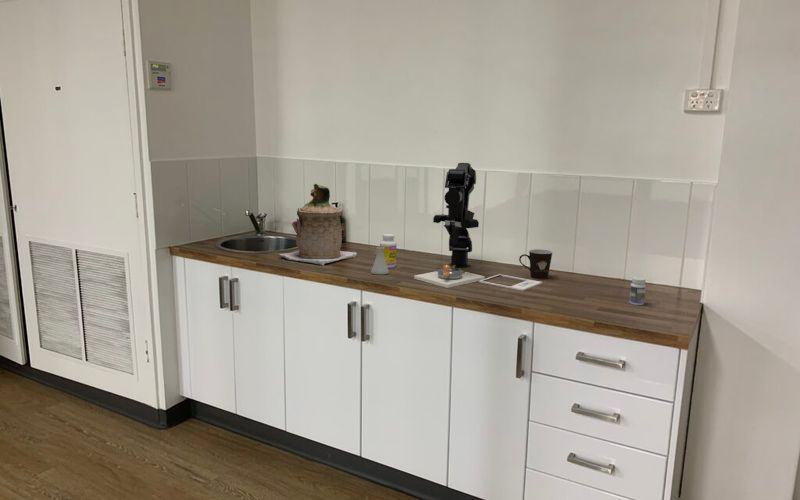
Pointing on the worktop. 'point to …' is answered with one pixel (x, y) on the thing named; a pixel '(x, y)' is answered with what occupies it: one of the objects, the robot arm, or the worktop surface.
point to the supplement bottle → (389, 250)
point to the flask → (380, 263)
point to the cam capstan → (449, 272)
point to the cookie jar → (318, 231)
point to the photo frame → (520, 286)
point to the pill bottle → (637, 291)
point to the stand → (447, 283)
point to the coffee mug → (539, 263)
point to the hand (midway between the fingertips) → (454, 243)
